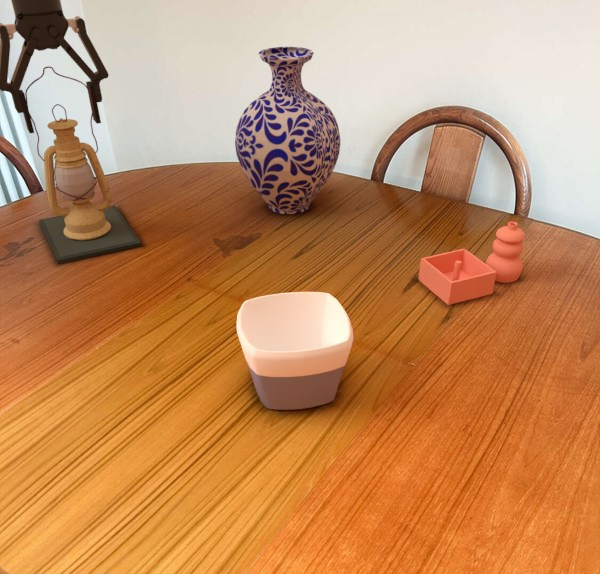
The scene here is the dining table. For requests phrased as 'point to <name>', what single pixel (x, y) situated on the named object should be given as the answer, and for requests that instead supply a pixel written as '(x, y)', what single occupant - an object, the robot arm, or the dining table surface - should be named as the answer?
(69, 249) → the placemat
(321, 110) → the vase
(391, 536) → the dining table surface
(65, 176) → the lantern
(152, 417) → the dining table surface
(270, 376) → the bowl
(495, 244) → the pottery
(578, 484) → the dining table surface
